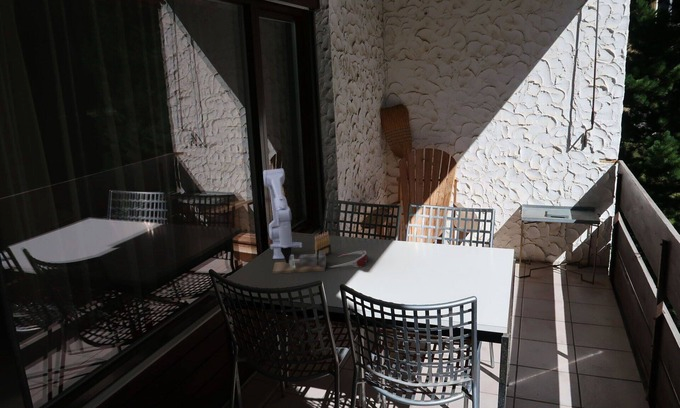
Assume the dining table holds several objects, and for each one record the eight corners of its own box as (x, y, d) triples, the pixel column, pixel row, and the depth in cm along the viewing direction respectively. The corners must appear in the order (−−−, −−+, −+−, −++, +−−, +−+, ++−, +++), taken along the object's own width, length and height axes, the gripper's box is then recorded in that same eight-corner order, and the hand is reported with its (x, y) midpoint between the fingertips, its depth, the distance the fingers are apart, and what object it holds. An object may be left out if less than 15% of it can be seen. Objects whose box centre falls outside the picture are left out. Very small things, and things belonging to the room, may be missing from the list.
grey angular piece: (289, 269, 255) (289, 260, 254) (291, 262, 264) (290, 254, 263) (310, 267, 255) (310, 259, 254) (311, 261, 264) (311, 253, 263)
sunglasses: (362, 270, 253) (360, 260, 252) (328, 274, 259) (326, 264, 258) (372, 257, 269) (370, 247, 268) (340, 261, 275) (338, 252, 274)
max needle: (293, 268, 256) (292, 259, 255) (293, 267, 257) (293, 258, 256) (295, 268, 256) (294, 259, 255) (295, 267, 257) (294, 258, 256)
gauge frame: (272, 273, 255) (271, 261, 254) (275, 264, 267) (274, 252, 265) (325, 270, 255) (325, 257, 254) (326, 261, 267) (325, 249, 265)
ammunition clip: (317, 260, 270) (316, 236, 267) (314, 259, 271) (313, 235, 268) (331, 253, 278) (329, 230, 275) (328, 253, 279) (326, 230, 276)
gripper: (268, 238, 253) (271, 266, 256) (300, 236, 253) (302, 264, 256) (270, 233, 260) (272, 261, 263) (301, 231, 260) (303, 259, 263)
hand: (287, 262), depth 260 cm, fingers closed
